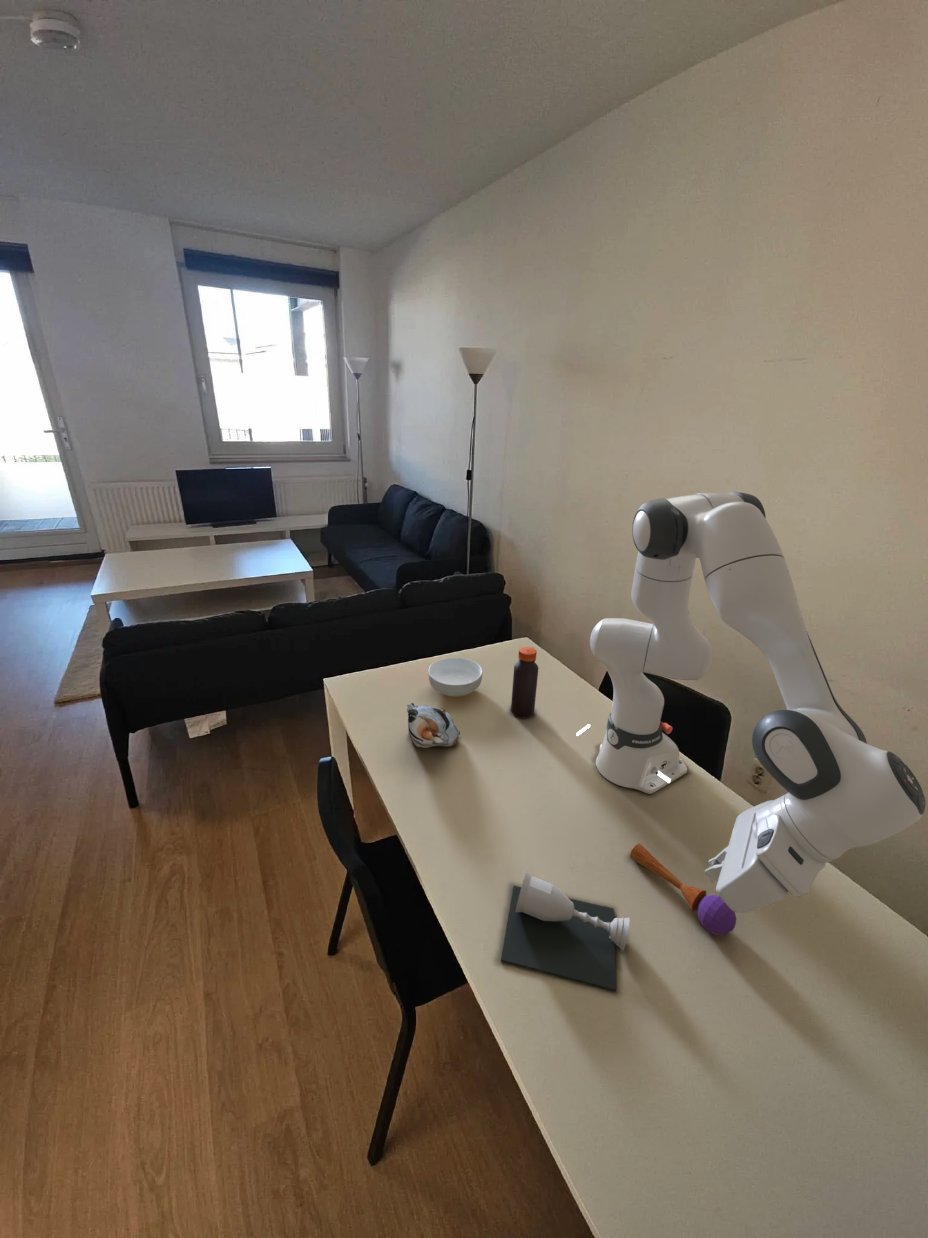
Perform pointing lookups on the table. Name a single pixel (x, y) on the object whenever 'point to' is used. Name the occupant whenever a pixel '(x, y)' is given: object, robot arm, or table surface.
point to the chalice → (562, 908)
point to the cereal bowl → (455, 676)
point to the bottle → (524, 683)
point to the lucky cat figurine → (431, 726)
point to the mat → (562, 944)
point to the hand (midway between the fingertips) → (709, 871)
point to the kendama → (692, 896)
